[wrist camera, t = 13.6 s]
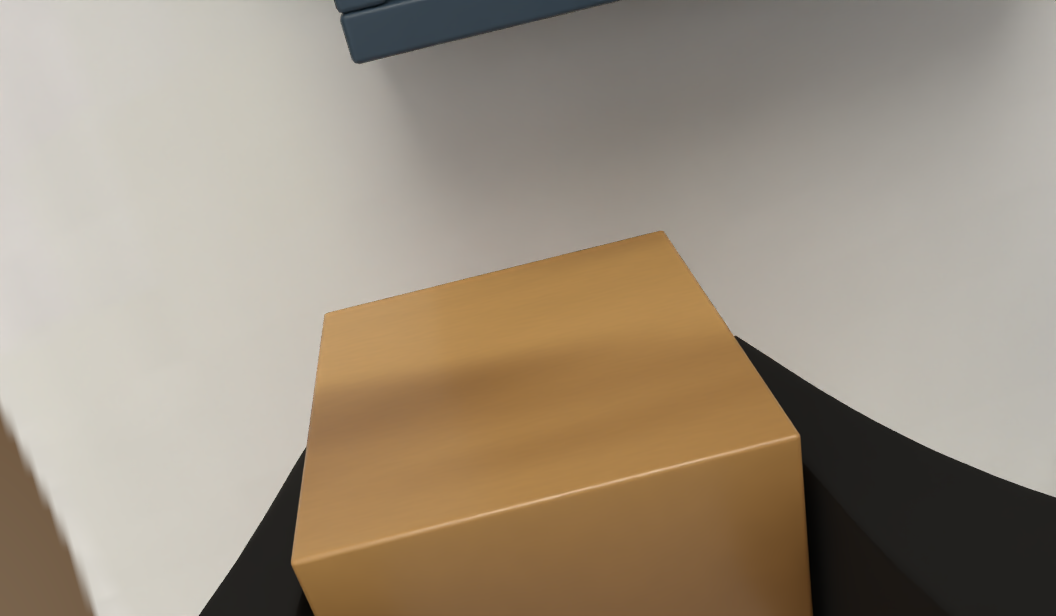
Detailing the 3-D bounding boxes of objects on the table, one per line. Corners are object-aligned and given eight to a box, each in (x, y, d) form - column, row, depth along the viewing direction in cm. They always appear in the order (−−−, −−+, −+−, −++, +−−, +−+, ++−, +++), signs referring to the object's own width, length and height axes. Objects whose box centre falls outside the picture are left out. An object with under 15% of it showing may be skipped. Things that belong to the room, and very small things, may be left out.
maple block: (701, 490, 14) (824, 755, 10) (415, 563, 14) (425, 859, 10) (663, 228, 12) (802, 434, 8) (323, 311, 12) (288, 564, 8)
